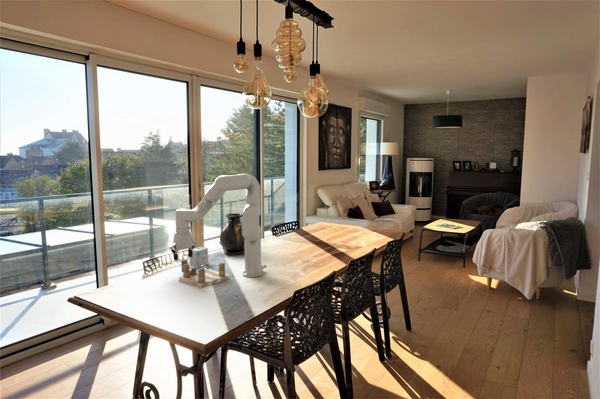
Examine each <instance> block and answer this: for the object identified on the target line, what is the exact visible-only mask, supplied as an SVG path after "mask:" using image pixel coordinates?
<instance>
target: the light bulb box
mask: <svg viewBox="0 0 600 399" xmlns="http://www.w3.org/2000/svg"><path fill="white" fill-rule="evenodd" d="M188 258H189V259H188V260H189V267H190V268H196V267H197V268H199V266H200V267H202V266H201V265H203V266H205V265H204V264H206V265H208V264H209V248H208V247H203V246H199V247H194V249H193V251H192V257H189V256H188ZM207 263H208V264H207Z"/></svg>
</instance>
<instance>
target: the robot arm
mask: <svg viewBox="0 0 600 399" xmlns="http://www.w3.org/2000/svg"><path fill="white" fill-rule="evenodd" d="M236 190H237V191H239V190H240V191H241V190H245V207H244V208H243V211H242V213H241V214H242V217H241V223H242V235H243V237H244V238H245V253H244V271H242V276H243V277H246V278H257V277H258V278H259V277H261V276H263V275H264V274H265V271H264V269H266V268H267V267H268V266H267V264H262V228H261V225H260V216H261V213H262V212H261V201H262V200H261V185H260V183H259V181H258V179H257V178H256V177H255V176H254V175H252V174H250V173H246V172H243V173H240V174H231V175H227V174H221V175H219V176H217V177H216V178H215V180H214V182H213V184H212V185H211V186H210V187H209V188H208V189H207V190H206V192H205V193H204V196H203V197H202V199H201V200H200V202H199V203H198V204H197V205H196V206H195V207H194V208H193V209H188V208H178V209H176V210H175V232H174V235H173V244H171V245H170V246H169V248H168V249H169V250H170V252H171V253H172V254H173V260H174V261H177V262H178V261H179V254H178V252H179V251H183V250H188V251H187V256H188V258H189V257H192V251H193V249H195V248H196V244H197V242H196V241H194V240H192V234H191V231H190V230H191V229H192V227H191V226H190V223H197V222H199V221H200V220H202V219H204V217H205V216H206V215H207V214H208V213H209V212H210V211H211V210H212V208H213V207H214V206H215V205H216V204H217V203H218V202H219V200H221V198H222V197H223V196H224V195H225V194H226V193H227V192H229V191H236Z"/></svg>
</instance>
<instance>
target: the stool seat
mask: <svg viewBox="0 0 600 399" xmlns="http://www.w3.org/2000/svg"><path fill="white" fill-rule="evenodd" d="M217 265H218V266H217V267H218V271H217V270H213V269H209V268H206V269H205V268H204V267H203V268H202V267H201V268H197V275H191V274H190V270H191V269H190V268H191V266H190V263H188V264H184V265H183V272H182V276H179V277H178V281H179V282H182V283H185V284H187V285H191V286H193V287H196V288H199V289H202V288H205V287H208V286H211V285H214V284H218V283H221V282H224V281H226V280H229V279H230V278H231V277H230V275H229V274H228V273H227V274H226V263H225V262H219V263H217Z"/></svg>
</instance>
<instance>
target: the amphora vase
mask: <svg viewBox="0 0 600 399" xmlns="http://www.w3.org/2000/svg"><path fill="white" fill-rule="evenodd" d="M242 214H243V213H240V212H239V213H233V212H232V213H227V214H225V215H224V217H225V218H227V223H226V224H225V225H224V227H223V228H222V229H221V231H220V233H219V234H220V235H219V244H220V245H221V247H222V248H223V249H224V250H223V253H224V254H225V255H229V256H240V255H243V254H244V255H245V238H244V237H243V235H242Z"/></svg>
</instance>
